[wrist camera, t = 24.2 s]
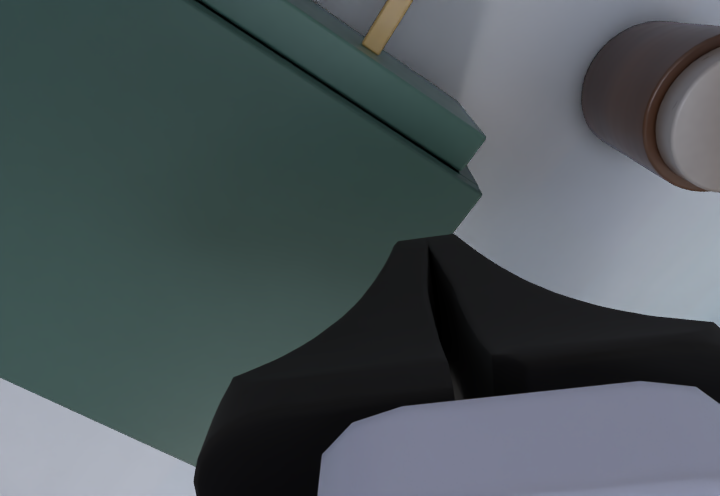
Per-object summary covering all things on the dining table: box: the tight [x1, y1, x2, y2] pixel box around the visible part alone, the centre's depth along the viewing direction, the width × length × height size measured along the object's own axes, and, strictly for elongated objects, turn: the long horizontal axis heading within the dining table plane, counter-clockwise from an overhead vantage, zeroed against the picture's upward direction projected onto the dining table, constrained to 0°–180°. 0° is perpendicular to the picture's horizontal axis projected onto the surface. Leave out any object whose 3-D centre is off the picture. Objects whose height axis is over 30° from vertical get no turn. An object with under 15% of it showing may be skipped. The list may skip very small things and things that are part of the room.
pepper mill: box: [582, 21, 720, 193], centre depth 17 cm, size 5×5×7 cm
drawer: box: [199, 0, 486, 171], centre depth 17 cm, size 16×13×6 cm
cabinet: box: [0, 0, 482, 467], centre depth 19 cm, size 13×14×7 cm
